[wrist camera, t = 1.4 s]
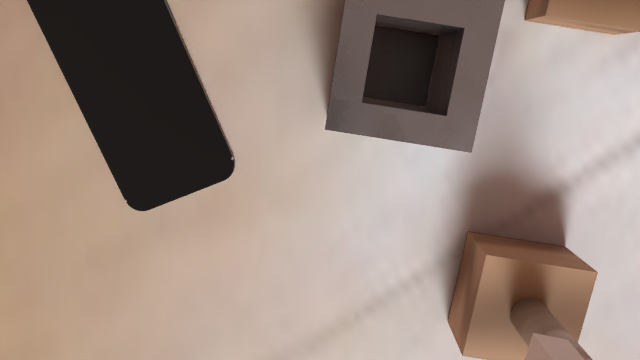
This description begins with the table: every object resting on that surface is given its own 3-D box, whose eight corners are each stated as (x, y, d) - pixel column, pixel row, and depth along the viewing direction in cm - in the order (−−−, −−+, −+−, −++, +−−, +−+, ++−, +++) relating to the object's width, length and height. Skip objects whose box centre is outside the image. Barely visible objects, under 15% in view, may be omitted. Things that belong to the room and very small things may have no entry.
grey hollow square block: (346, -8, 29) (349, -27, 23) (471, 12, 29) (505, -2, 23) (327, 117, 31) (325, 129, 25) (445, 135, 31) (471, 152, 25)
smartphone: (131, 216, 32) (13, -25, 29) (136, 213, 33) (20, -23, 30) (240, 173, 31) (130, -79, 28) (242, 171, 32) (134, -76, 29)
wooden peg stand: (467, 231, 32) (534, 316, 21) (565, 247, 32) (682, 339, 21) (447, 321, 33) (501, 443, 22) (541, 336, 33) (639, 465, 22)
